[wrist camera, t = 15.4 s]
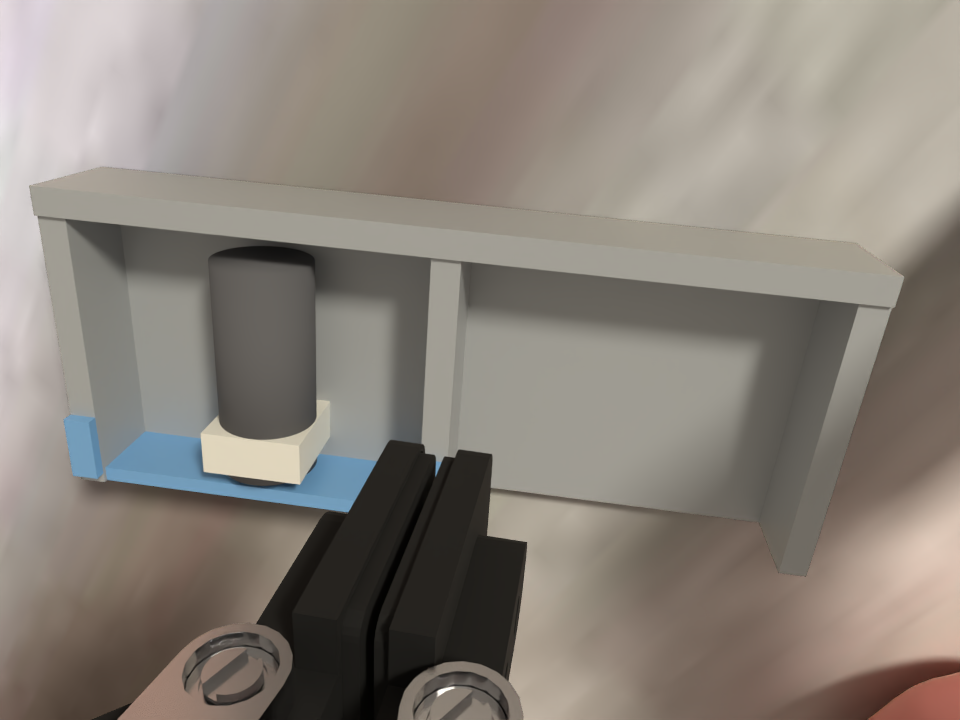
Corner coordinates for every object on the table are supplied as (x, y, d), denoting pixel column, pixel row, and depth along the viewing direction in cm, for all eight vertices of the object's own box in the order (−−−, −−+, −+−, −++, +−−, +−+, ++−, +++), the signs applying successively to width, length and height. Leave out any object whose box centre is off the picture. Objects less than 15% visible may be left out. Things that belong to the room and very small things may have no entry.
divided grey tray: (856, 243, 32) (908, 279, 27) (778, 514, 37) (809, 584, 32) (101, 166, 34) (23, 187, 29) (135, 430, 40) (74, 484, 35)
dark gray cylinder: (233, 241, 34) (186, 268, 30) (329, 251, 33) (295, 280, 29) (244, 432, 38) (204, 479, 34) (329, 443, 37) (300, 492, 33)
